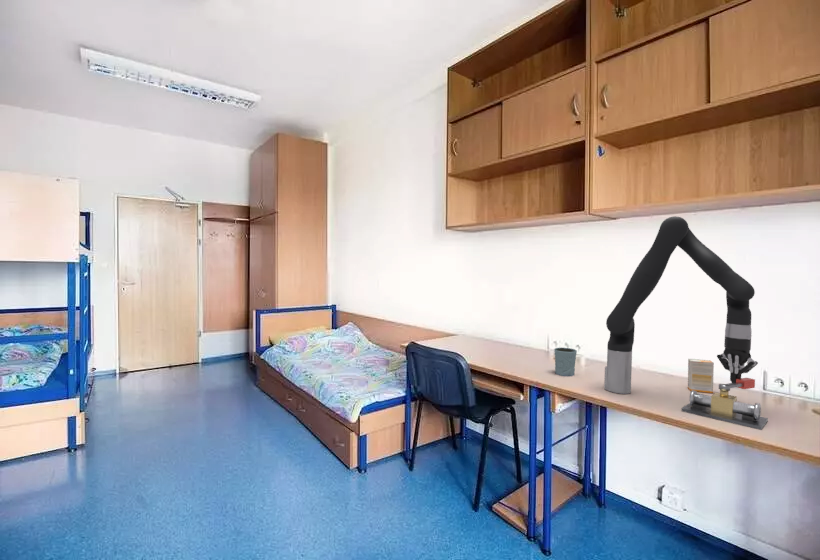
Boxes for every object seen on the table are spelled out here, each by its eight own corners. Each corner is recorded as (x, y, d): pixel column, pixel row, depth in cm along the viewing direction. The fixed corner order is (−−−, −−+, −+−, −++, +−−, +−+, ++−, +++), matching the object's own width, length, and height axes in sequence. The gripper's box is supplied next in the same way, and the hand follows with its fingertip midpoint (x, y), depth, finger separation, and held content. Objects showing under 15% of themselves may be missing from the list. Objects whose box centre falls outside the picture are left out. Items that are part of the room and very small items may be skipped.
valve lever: (726, 392, 141) (726, 383, 140) (716, 389, 144) (716, 381, 143) (755, 388, 146) (755, 379, 146) (745, 385, 149) (745, 377, 149)
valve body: (681, 411, 147) (682, 386, 147) (691, 404, 155) (692, 380, 155) (761, 429, 131) (762, 401, 130) (767, 421, 139) (768, 394, 138)
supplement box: (710, 390, 174) (711, 360, 173) (713, 393, 169) (714, 362, 169) (687, 388, 177) (688, 358, 177) (689, 391, 173) (690, 360, 172)
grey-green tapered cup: (572, 372, 202) (573, 347, 202) (578, 377, 192) (579, 352, 192) (551, 371, 203) (552, 347, 203) (556, 376, 193) (557, 351, 193)
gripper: (712, 333, 154) (709, 379, 155) (751, 339, 142) (748, 389, 142) (725, 332, 157) (723, 377, 157) (765, 339, 144) (762, 387, 145)
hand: (735, 383), depth 150 cm, fingers closed
